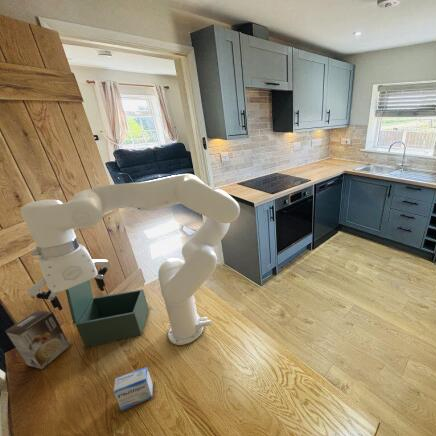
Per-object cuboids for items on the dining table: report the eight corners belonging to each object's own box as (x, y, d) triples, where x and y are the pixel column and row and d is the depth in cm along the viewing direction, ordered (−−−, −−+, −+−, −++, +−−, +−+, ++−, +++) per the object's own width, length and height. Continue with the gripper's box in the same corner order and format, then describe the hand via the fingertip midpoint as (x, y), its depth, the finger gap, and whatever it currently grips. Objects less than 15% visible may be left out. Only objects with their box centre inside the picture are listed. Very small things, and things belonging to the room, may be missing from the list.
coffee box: (56, 342, 86) (39, 308, 80) (71, 345, 85) (54, 311, 79) (26, 366, 78) (3, 330, 72) (41, 370, 77) (20, 334, 71)
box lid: (85, 256, 86) (65, 256, 84) (65, 278, 74) (42, 280, 72) (93, 296, 92) (75, 298, 90) (76, 323, 80) (55, 326, 79)
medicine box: (121, 411, 67) (112, 392, 63) (122, 396, 70) (114, 377, 67) (152, 398, 70) (146, 379, 67) (153, 384, 74) (146, 365, 70)
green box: (148, 309, 102) (143, 289, 98) (141, 334, 90) (134, 313, 86) (100, 318, 97) (92, 297, 92) (85, 347, 85) (75, 324, 80)
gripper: (13, 267, 53) (44, 323, 60) (104, 238, 66) (120, 287, 73) (8, 256, 57) (37, 309, 64) (94, 231, 70) (111, 278, 77)
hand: (81, 297), depth 69 cm, fingers open, 9 cm apart
